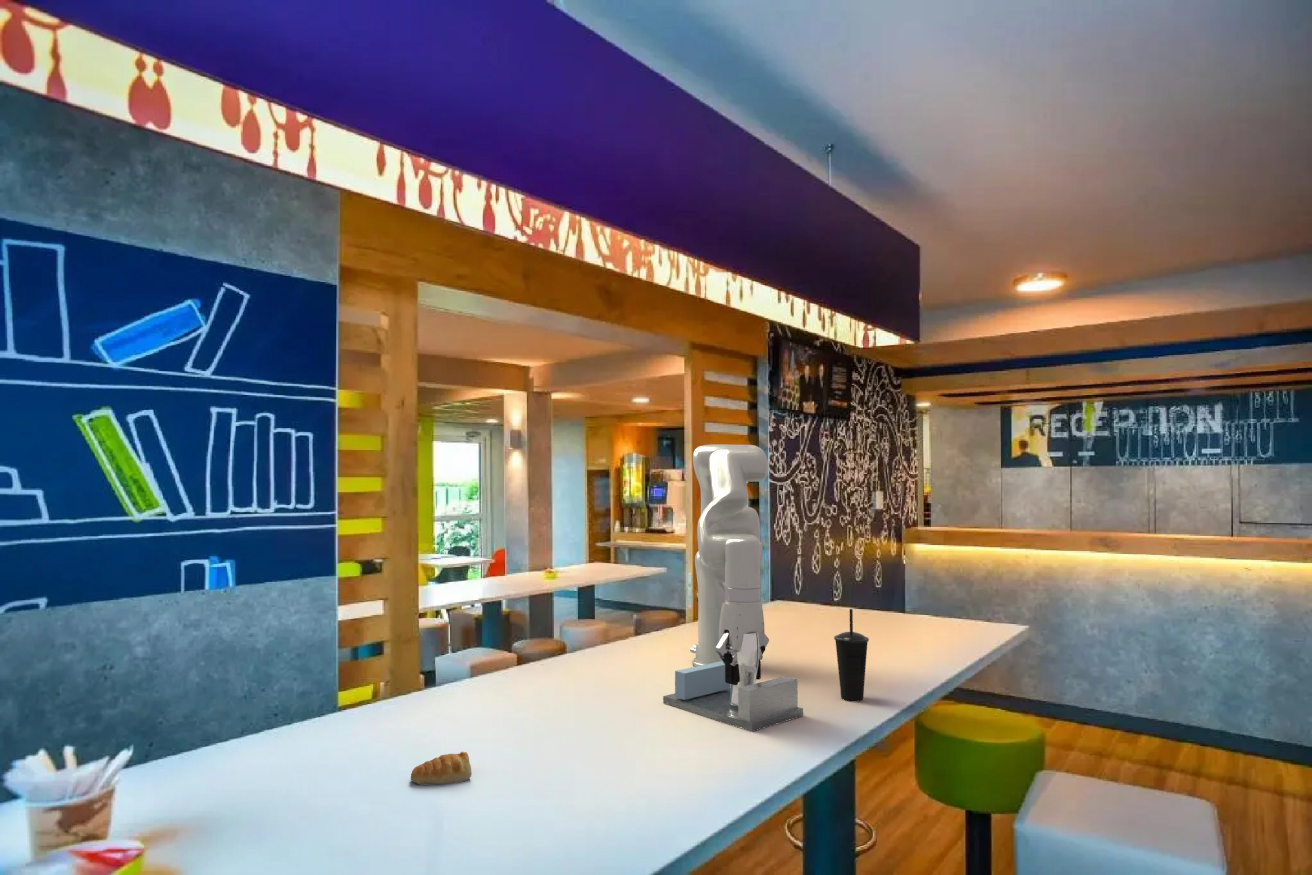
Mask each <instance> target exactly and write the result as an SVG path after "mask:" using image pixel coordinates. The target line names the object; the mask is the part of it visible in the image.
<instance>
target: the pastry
mask: <svg viewBox="0 0 1312 875" xmlns="http://www.w3.org/2000/svg"><path fill="white" fill-rule="evenodd" d="M471 777H472V766H471V763H470V757H469V754H468V752H467V751H460V753H447V754H445V753H444V754H442V755H440V756H438V757H435V758H434V757H433V759H431V760H427V761H425V762H423V763H421V764H419V765H417V766H415V767H414V768H413V769H412V771H411V773H410V780H411V781H412V782H413V783H416V784H417V785H422V786H424V785H425V786H426V785H430V786H431V785H434V786H435V785H437V786H439V785H448V784H455V783H462V782H466V781H469V780H471V779H470V778H471Z"/></svg>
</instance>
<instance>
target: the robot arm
mask: <svg viewBox="0 0 1312 875" xmlns="http://www.w3.org/2000/svg"><path fill="white" fill-rule="evenodd" d="M692 462H693V463H692V464H693V470H694V473H695V476H696V479H697V481H698V484H699V487H700V488H699V489H700V516H699V518H698V522H697V526H696V527H697V528H696V536H697V549H698V551H697V552H696V554H695V557H694V567H695V573H696V574H695V575H696V580H697V582H696V583H697V596H698V597H697V598H698V599H697V600H698V601H697V602H698V604H697V606H698V607H697V608H698V609H697V611H698V613H697V615H698V616H697V618H698V620H697V621H698V622H697V625H698V626H697V627H698V629H697V631H698V632H697V633H698V634H697V635H698V636H697V637H698V640H697V642H698V643H697V644H694V645H693V646H692V647H690V648H689V651H690V653H692V654H695V657H694V658H693V659H692V661H691V662H692V665H693V667H696V666H701V665H706V664H710V663H715V662H720V661H722V662H723V663H724V664H725V682H726V683H728V684H730V685H731V684H732V685H738V666H737V665H736V662H737V652H739V651H741V647H742V642H743V636H744V634H751V633H756V632H757V631H758V634H759V649H760V654H759V665H758V671H757V677H756V681H757V680H758V681H759V680H761V679H762V673H761V670H762V669H761V667H762V666H761V665H762V660H763V657H764V656H763V654H764V653H765V651H766V647H768V646H767V645H768V644H769V642H770V638H769V637H768V636H767V635H766V632H765V618H764V610H763V604H762V601H761V598H762V597H761V593H762V588H761V561H762V559H763V543H762V542H761V520H760V517H759V514H758V512H757V510H756V509H754V508H753V507H750V506H748V504H749V493H748V487H747V482H751V483H753V482H759V483H760V482H764V481H765V480H766V478H767V476H768V473H769V461H768V457H767V454H766V453H765V451H764V449H762V448H761V447H759V446H757V445H754V444H726V443H725V444H721V443H719V444H718V443H717V444H715V443H714V444H703V445H700V446H697V447H696V448H695V449H694V451H693V454H692ZM729 643H730V644H731V645H732V649H729ZM729 652H732V653H733V655H732V658H731V657H730V655H729Z"/></svg>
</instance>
